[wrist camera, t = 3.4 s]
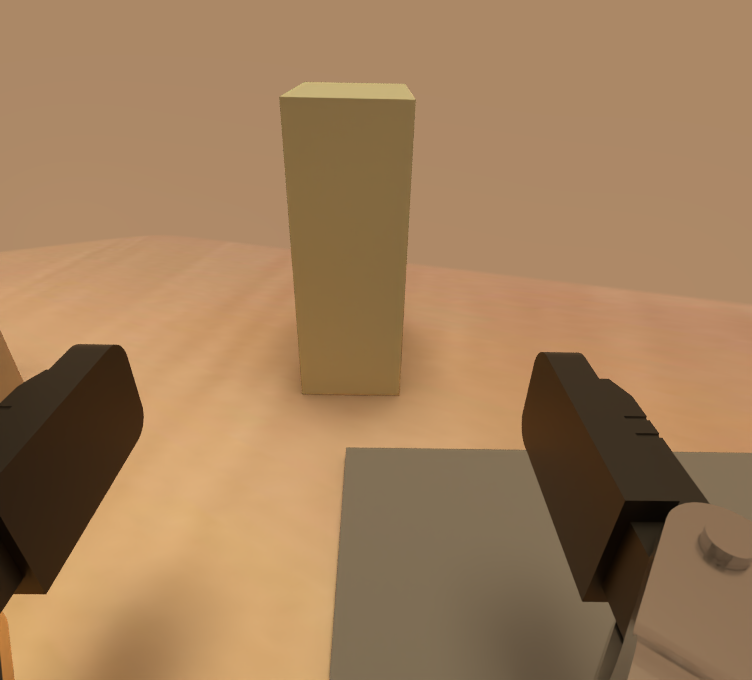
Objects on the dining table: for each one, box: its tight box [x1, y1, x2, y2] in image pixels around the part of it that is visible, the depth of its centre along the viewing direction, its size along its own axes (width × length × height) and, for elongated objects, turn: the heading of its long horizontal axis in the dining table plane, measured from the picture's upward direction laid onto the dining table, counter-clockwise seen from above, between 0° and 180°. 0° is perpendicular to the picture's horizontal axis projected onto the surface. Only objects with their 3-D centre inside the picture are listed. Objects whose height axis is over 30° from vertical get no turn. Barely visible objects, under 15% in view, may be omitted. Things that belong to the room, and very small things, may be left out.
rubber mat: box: [329, 448, 752, 680], centre depth 12 cm, size 16×11×1 cm
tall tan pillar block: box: [279, 82, 416, 396], centre depth 20 cm, size 4×6×11 cm, turn 0°
